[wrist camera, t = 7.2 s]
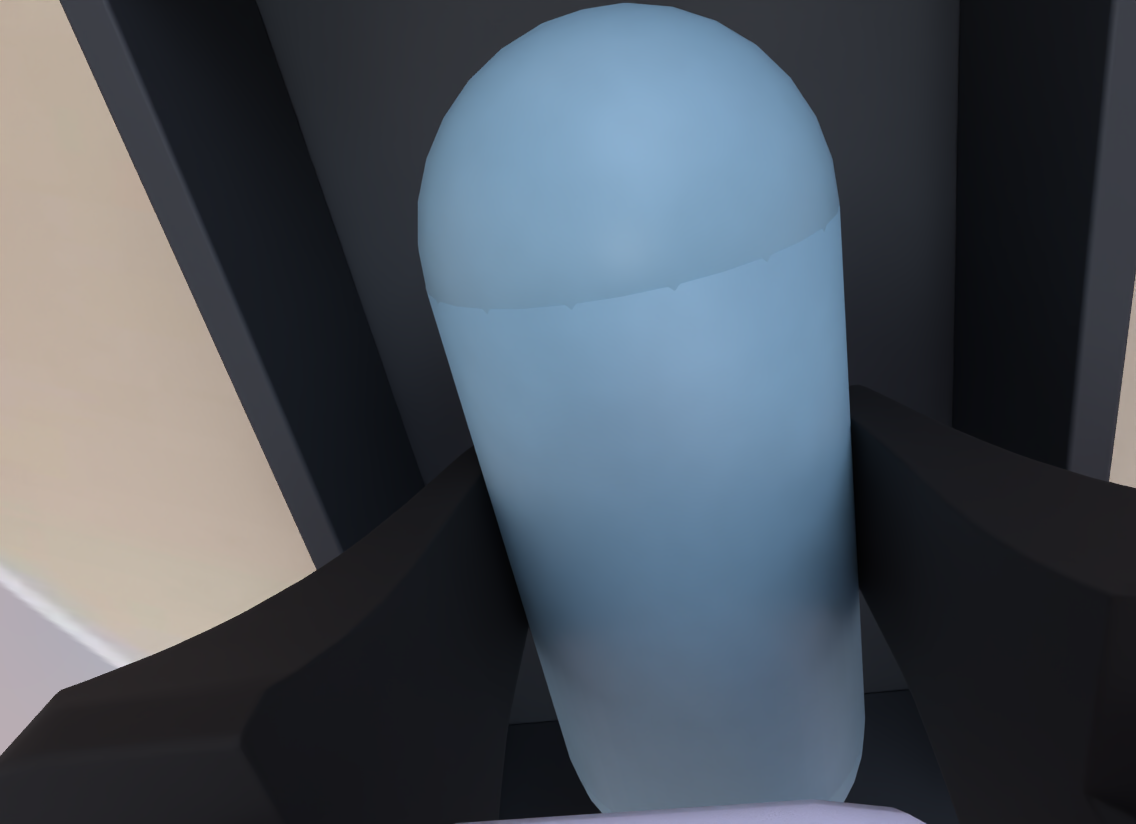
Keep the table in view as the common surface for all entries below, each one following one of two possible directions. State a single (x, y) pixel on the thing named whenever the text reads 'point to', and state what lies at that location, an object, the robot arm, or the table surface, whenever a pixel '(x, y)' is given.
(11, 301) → the table surface
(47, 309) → the table surface
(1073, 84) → the bin
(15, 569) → the table surface
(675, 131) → the capsule
